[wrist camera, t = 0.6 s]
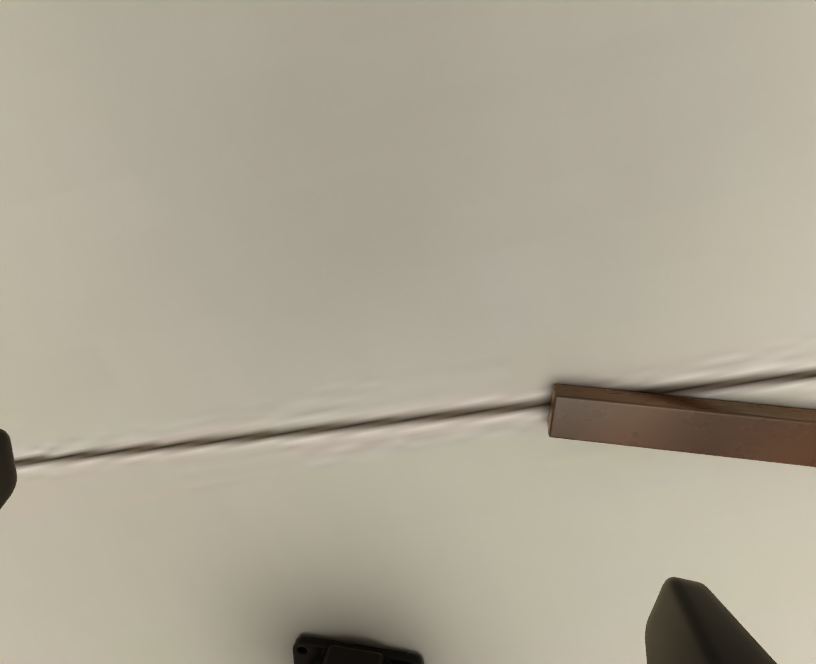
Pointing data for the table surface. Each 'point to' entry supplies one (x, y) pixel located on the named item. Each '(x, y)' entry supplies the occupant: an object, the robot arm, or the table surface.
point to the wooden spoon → (684, 424)
